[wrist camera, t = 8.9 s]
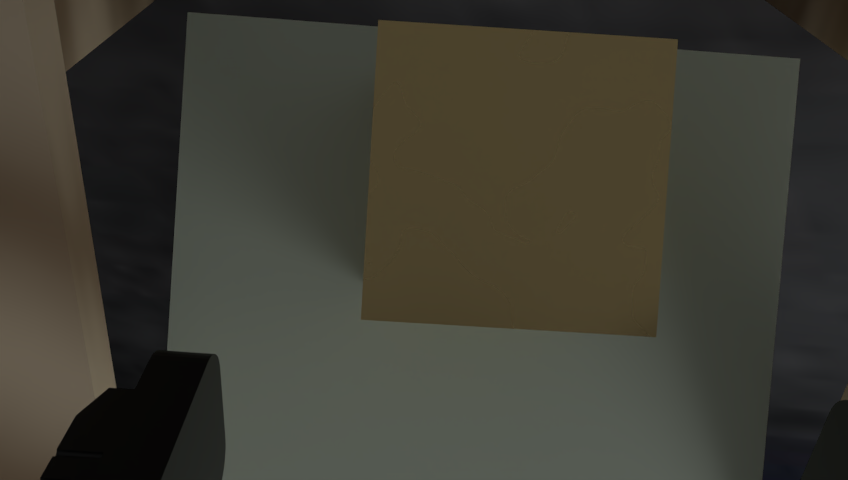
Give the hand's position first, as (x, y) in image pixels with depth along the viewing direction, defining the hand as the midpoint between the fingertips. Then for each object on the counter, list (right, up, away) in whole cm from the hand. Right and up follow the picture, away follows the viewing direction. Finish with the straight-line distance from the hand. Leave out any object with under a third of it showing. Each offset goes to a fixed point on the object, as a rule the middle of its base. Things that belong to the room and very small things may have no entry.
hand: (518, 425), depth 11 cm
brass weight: (0, +4, +8) cm, 9 cm away
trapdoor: (0, -3, +12) cm, 12 cm away
